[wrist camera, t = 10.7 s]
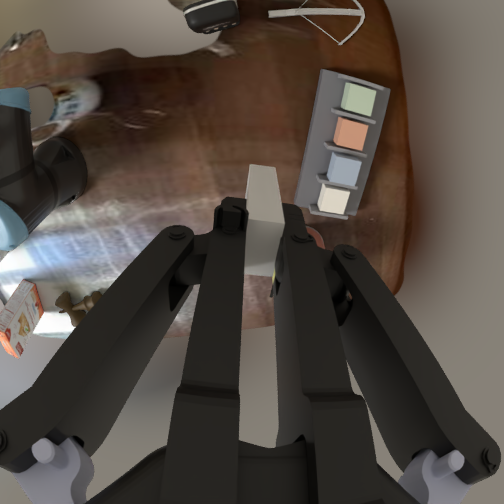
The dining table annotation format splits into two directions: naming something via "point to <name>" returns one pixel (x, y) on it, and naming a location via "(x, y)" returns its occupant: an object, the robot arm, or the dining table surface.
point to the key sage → (358, 99)
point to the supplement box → (2, 254)
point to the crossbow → (321, 12)
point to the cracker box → (20, 318)
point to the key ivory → (333, 198)
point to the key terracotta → (350, 133)
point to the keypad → (323, 144)
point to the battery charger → (212, 15)
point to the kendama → (76, 306)
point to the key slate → (343, 169)
